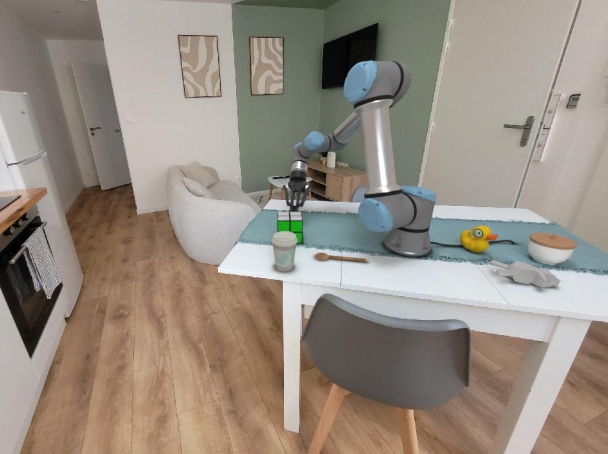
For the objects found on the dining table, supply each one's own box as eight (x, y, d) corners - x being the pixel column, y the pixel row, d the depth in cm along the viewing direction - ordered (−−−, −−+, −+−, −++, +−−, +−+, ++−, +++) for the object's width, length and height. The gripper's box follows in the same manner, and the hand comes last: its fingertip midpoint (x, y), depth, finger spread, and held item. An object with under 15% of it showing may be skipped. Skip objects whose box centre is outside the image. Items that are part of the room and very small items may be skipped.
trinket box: (558, 255, 98) (569, 230, 95) (574, 271, 89) (587, 244, 86) (517, 250, 103) (526, 226, 99) (529, 265, 94) (539, 239, 90)
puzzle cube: (300, 233, 125) (301, 211, 121) (302, 243, 116) (303, 220, 112) (277, 233, 126) (277, 211, 122) (277, 243, 117) (277, 220, 113)
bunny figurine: (569, 281, 78) (503, 267, 83) (559, 296, 80) (495, 282, 85) (551, 264, 86) (491, 252, 91) (542, 278, 88) (484, 266, 93)
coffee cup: (266, 268, 99) (266, 236, 95) (281, 258, 105) (281, 228, 100) (287, 276, 94) (287, 243, 89) (301, 266, 100) (302, 234, 95)
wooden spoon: (366, 259, 102) (366, 256, 102) (367, 265, 98) (367, 262, 98) (316, 254, 107) (316, 251, 107) (315, 260, 103) (315, 257, 103)
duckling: (496, 257, 99) (505, 230, 95) (484, 259, 98) (493, 232, 94) (464, 243, 109) (471, 218, 106) (453, 245, 108) (460, 221, 104)
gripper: (313, 178, 136) (308, 224, 128) (285, 177, 140) (279, 222, 132) (312, 169, 129) (307, 217, 121) (283, 169, 133) (276, 215, 125)
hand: (292, 220), depth 126 cm, fingers closed
